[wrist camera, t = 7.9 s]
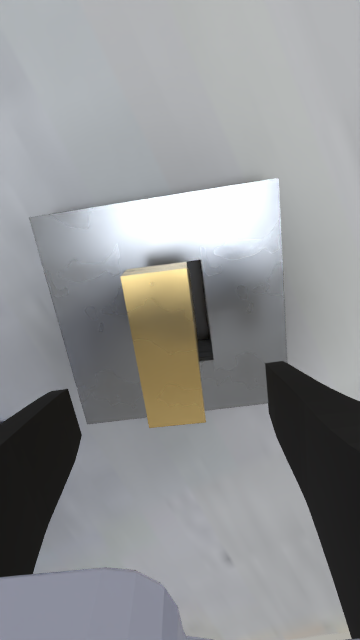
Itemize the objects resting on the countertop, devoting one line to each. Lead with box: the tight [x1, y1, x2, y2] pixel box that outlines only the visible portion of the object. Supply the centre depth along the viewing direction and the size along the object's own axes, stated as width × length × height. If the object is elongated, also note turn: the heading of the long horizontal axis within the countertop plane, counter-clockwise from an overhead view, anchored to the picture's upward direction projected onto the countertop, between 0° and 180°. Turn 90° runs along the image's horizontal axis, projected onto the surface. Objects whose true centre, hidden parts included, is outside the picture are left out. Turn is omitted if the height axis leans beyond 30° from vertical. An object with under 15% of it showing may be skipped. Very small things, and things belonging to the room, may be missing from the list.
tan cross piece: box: [120, 262, 206, 428], centre depth 17 cm, size 2×7×8 cm, turn 8°
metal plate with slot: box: [29, 178, 287, 424], centre depth 19 cm, size 12×12×3 cm
